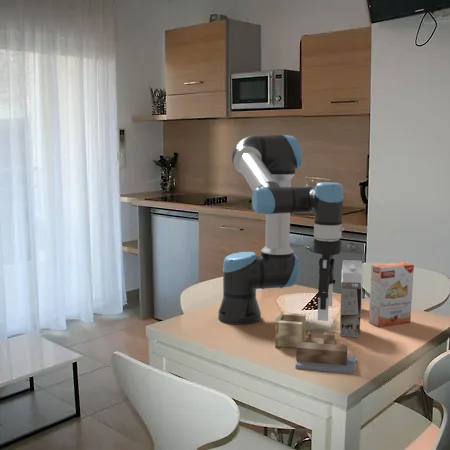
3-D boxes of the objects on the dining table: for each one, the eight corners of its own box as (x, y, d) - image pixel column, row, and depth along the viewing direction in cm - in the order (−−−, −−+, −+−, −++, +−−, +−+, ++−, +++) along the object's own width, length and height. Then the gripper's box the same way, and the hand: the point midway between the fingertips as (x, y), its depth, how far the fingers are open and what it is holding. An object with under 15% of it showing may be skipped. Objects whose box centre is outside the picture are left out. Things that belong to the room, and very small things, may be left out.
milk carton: (340, 307, 225) (342, 258, 222) (359, 308, 224) (361, 259, 221) (341, 312, 218) (343, 262, 215) (361, 313, 217) (363, 262, 214)
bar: (296, 360, 168) (296, 347, 167) (298, 354, 172) (298, 341, 172) (346, 365, 164) (346, 351, 164) (347, 359, 169) (347, 345, 168)
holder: (274, 347, 182) (275, 322, 180) (280, 336, 192) (280, 312, 191) (332, 352, 177) (333, 326, 176) (335, 340, 187) (335, 316, 186)
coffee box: (360, 337, 191) (361, 288, 188) (339, 336, 192) (341, 287, 189) (359, 328, 199) (361, 282, 197) (340, 327, 201) (341, 281, 198)
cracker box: (379, 328, 200) (381, 267, 197) (368, 323, 206) (370, 264, 203) (411, 323, 206) (414, 264, 203) (400, 318, 211) (402, 260, 208)
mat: (295, 368, 165) (295, 364, 165) (300, 354, 175) (300, 351, 175) (354, 374, 161) (354, 370, 161) (355, 359, 171) (355, 356, 171)
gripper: (338, 248, 150) (335, 328, 154) (344, 231, 174) (341, 301, 178) (308, 246, 152) (306, 325, 156) (318, 230, 176) (316, 299, 179)
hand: (325, 312), depth 167 cm, fingers open, 13 cm apart
